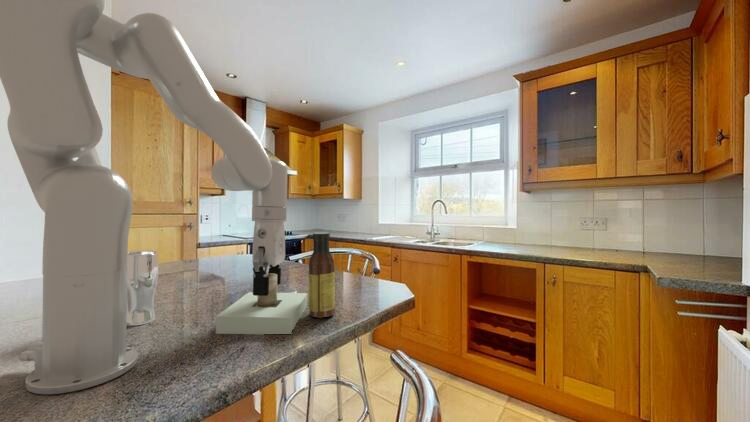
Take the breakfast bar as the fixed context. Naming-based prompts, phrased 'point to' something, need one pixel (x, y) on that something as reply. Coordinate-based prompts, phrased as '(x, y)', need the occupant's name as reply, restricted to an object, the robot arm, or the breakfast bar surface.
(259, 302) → the peg
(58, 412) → the breakfast bar surface
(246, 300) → the seat board
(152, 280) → the beer glass
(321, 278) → the sauce bottle
